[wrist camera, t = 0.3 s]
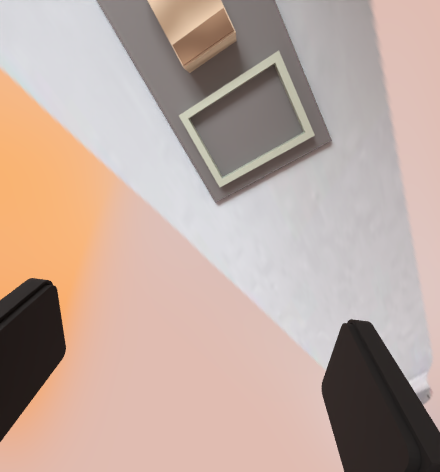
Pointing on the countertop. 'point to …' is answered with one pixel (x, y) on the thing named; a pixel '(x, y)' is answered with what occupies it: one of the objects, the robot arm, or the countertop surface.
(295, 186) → the countertop surface
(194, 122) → the mat
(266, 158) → the tray
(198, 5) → the block
